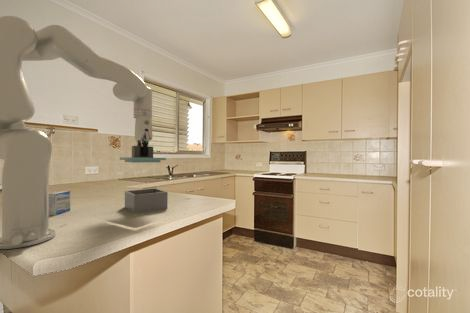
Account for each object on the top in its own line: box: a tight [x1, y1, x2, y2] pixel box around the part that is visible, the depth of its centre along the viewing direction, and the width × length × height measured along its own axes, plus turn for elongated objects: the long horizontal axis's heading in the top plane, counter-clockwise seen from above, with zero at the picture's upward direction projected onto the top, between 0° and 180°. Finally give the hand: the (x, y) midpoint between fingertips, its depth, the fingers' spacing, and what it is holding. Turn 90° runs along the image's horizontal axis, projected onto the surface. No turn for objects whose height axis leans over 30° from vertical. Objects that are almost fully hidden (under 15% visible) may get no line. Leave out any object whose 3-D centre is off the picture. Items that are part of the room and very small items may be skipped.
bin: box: [124, 187, 169, 214], centre depth 98 cm, size 14×14×8 cm
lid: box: [119, 145, 167, 164], centre depth 97 cm, size 15×15×7 cm
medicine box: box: [49, 190, 71, 216], centre depth 91 cm, size 8×4×9 cm, turn 179°
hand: (142, 155), depth 97 cm, fingers closed on lid, 4 cm apart
